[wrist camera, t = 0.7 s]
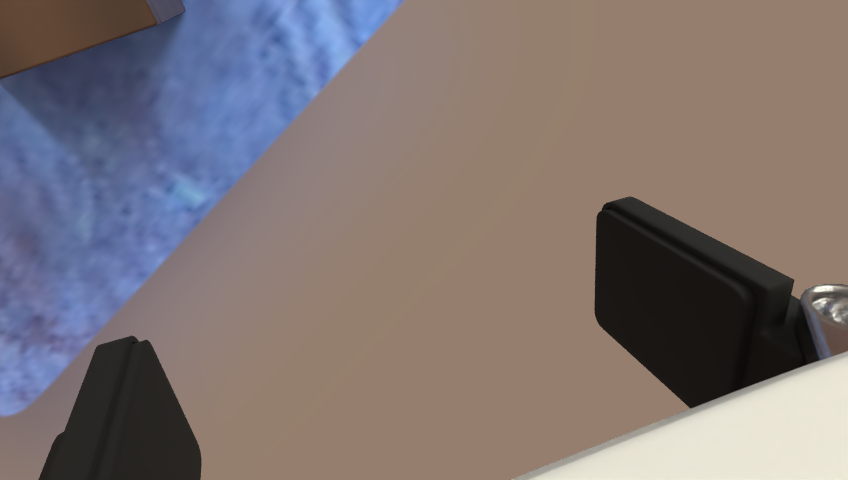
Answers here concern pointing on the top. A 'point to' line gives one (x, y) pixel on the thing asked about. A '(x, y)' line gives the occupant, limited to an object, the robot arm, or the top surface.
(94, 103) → the top surface
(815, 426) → the robot arm
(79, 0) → the cupboard
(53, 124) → the top surface
